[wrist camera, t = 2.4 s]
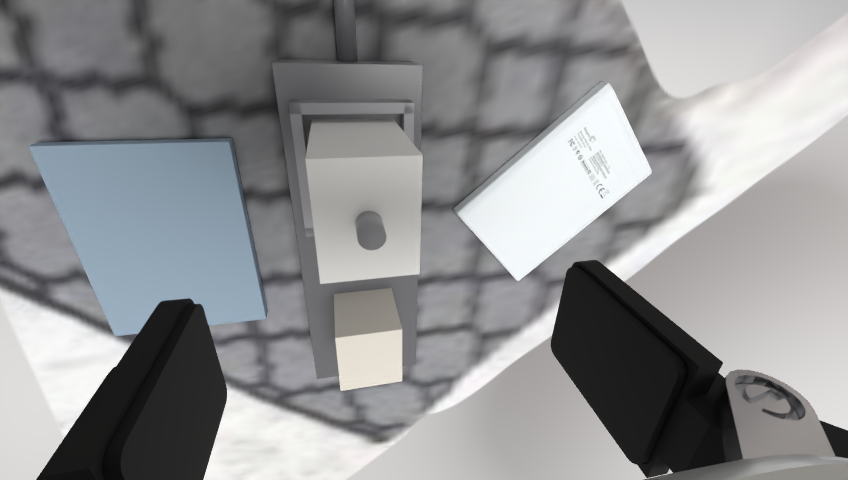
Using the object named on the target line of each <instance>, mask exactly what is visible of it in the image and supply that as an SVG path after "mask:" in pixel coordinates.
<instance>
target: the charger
mask: <svg viewBox="0 0 848 480" xmlns="http://www.w3.org/2000/svg"><path fill="white" fill-rule="evenodd" d="M305 160H306V169H307V177H308V186H309V194H310V202H311V211H312V219H313V227H314V236H315V244H316V253H317V261H318V269H319V278H320V284H326V283H336V282H346V281H356V280H366V279H376V278H386V277H396V276H406V275H416V274H420V238H421V201H422V164H423V155H422V154H421V153H420V151H419V150H418V149H417V148H416V146H415V145H414V144H413V143H412V141H411V140H410V139H409V138H408V136H407V135H406V134H405V133H404V131H403V130H402V129H401V128H400V127H399V125H398V124H397V123H396V122H395V120H394V119H393V118H381V119H312V122H311V128H310V134H309V140H308V146H307V152H306V158H305Z"/></svg>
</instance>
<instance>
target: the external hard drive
mask: <svg viewBox="0 0 848 480" xmlns="http://www.w3.org/2000/svg"><path fill="white" fill-rule="evenodd" d="M651 173H652V171H651V168H650V166H649V164H648V162H647V160H646V157H645V156H644V154H643V152H642V149H641V147H640V145H639V143H638V141H637V139H636V137H635V135H634V132H633V130H632V128H631V126H630V124H629V122H628V119H627V117H626V115H625V113H624V111H623V109H622V107H621V105H620V102H619V100H618V98H617V96H616V94H615V92H614V90H613V88H612V87H611V85H610V84H609V83H606V82H600V83H599V84H598V85H596V86H595V87H594V88H593V89H592V90H590V91H589V92H588V93H587V94H586V95H585V96H583V97H582V98H581V99H580V100H579V101H578V102H576V103H575V104H574V105H573V106H572V107H571V108H569V109H568V110H567V111H566V112H565V113H564V114H562V115H561V116H560V117H559V118H558V119H557V120H555V121H554V122H553V123H552V124H551V125H550V126H548V127H547V128H546V129H545V130H544V131H543V132H542V133H540V134H539V135H538V136H537V137H536V138H535V139H533V140H532V141H531V142H530V143H529V144H528V145H526V146H525V147H524V148H523V149H522V150H521V151H520V152H518V153H517V154H516V155H515V156H514V157H513V158H511V159H510V160H509V161H508V162H507V163H506V164H504V165H503V166H502V167H501V168H500V169H499V170H497V171H496V172H495V173H494V174H493V175H492V176H490V177H489V178H488V179H487V180H486V181H485V182H484V183H482V184H481V185H480V186H479V187H478V188H477V189H475V190H474V191H473V192H472V193H471V194H470V195H469V196H467V197H466V198H465V199H464V200H463V201H462V202H460V203H459V204H458V205H457V206H456V207H454V208H453V210H454V211H455V212H456V214H457V215H458V216H459V217H460V218H461V219H462V220H463V222H464V223H465V224H466V225H467V226H468V227H469V228H470V229H471V230H472V232H473V233H474V234H475V235H476V236H477V237H478V238H479V239H480V240H481V241H482V243H483V244H484V245H485V246H486V247H487V248H488V249H489V250H490V251H491V253H492V254H493V255H494V256H495V257H496V258H497V259H498V260H499V261H500V263H501V264H502V265H503V266H504V267H505V268H506V269H507V270H508V271H509V273H510V274H511V275H512V276H513V277H514V278H515V279H516V280H517V281H519V280H520V279H522V278H523V277H524V276H525V275H527V274H528V273H529V272H530V271H532V270H533V269H534V268H535V267H537V266H538V265H539V264H540V263H541V262H543V261H544V260H545V259H546V258H548V257H549V256H550V255H551V254H553V253H554V252H555V251H556V250H557V249H559V248H560V247H561V246H562V245H564V244H565V243H566V242H567V241H569V240H570V239H571V238H572V237H574V236H575V235H576V234H577V233H578V232H580V231H581V230H582V229H583V228H585V227H586V226H587V225H588V224H590V223H591V222H592V221H593V220H594V219H596V218H597V217H598V216H599V215H601V214H602V213H603V212H604V211H606V210H607V209H608V208H609V207H611V206H612V205H613V204H614V203H615V202H617V201H618V200H619V199H620V198H622V197H623V196H624V195H625V194H626V193H628V192H629V191H630V190H631V189H633V188H634V187H635V186H636V185H637V184H639V183H640V182H641V181H643V180H644V179H645V178H646V177H648V176H649V175H650V174H651Z"/></svg>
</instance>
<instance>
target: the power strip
mask: <svg viewBox="0 0 848 480" xmlns="http://www.w3.org/2000/svg"><path fill="white" fill-rule="evenodd" d="M334 12H335V26H336V40H337V55H338V60H300V59H278V60H276V61H274V62H272V70H273V76H274V83H275V90H276V97H277V104H278V111H279V118H280V125H281V132H282V139H283V146H284V153H285V160H286V167H287V174H288V181H289V187H290V194H291V201H292V208H293V215H294V222H295V229H296V236H297V243H298V250H299V257H300V264H301V271H302V278H303V285H304V292H305V299H306V305H307V312H308V319H309V326H310V333H311V340H312V347H313V354H314V361H315V368H316V375H317V379H320V378H326V377H333V376H339V379H340V389H341V391H343V390H349V389H356V388H362V387H368V386H375V385H381V384H387V383H394V382H400V381H402V366H406V365H413V364H416V325H417V284H418V274H416V275H406V276H396V277H386V278H376V279H366V280H356V281H346V282H336V283H326V284H320V278H319V269H318V261H317V253H316V244H315V236H314V227H313V219H312V211H311V202H310V194H309V186H308V177H307V169H306V160H305V158H306V152H307V146H308V140H309V134H310V128H311V122H312V119H381V118H393V119H394V120H395V122H396V123H397V124H398V125H399V127H400V128H401V129H402V130H403V131H404V133H405V134H406V135H407V136H408V138H409V139H410V140H411V141H412V143H413V144H414V145H415V146H416V148H417V149H418V150H419V151H420V153H421V119H422V78H423V65H420V64H417V63H414V62H407V61H357V46H356V25H355V5H354V0H334Z"/></svg>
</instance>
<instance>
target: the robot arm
mask: <svg viewBox="0 0 848 480" xmlns="http://www.w3.org/2000/svg"><path fill="white" fill-rule="evenodd" d="M551 349H552V352H553V354H554V356H555V357H556V359H557V360H558V361H559V363H560V364H561V365H562V367H563V368H564V370H565V371H566V373H567V374H568V375H569V377H570V378H571V380H572V381H573V382H574V384H575V385H576V387H577V388H578V389H579V391H580V392H581V394H582V395H583V396H584V398H585V399H586V400H587V402H588V403H589V405H590V406H591V407H592V409H593V410H594V412H595V413H596V415H597V416H598V417H599V419H600V420H601V422H602V423H603V424H604V426H605V427H606V429H607V430H608V431H609V433H610V434H611V436H612V437H613V438H614V440H615V441H616V443H617V444H618V445H619V447H620V448H621V450H622V451H623V452H624V454H625V455H626V457H627V458H628V459H629V460H630V461H631V462H632V463H634V464H637V465H638V466H639V468H640V469H641V470H642V472H643V473H644V474H645V476H646V477H647V478H649V477H654V476H658V475H662V474H666V473H667V472H668V470H669V468H670V469H671V471H672V472H673V473H672V474H668V475H663V476H658V477H654V478H649V479H645V480H848V431H847V430H845V429H842V428H839V427H836V426H833V425H831V424H828V423H825V422H823V421H820V420H819V419H818V417H817V415H816V413H815V411H814V409H813V408H812V406H811V405H810V403H809V402H808V401H807V400H806V399H805V398H804V397H803V396H802V395H801V394H800V393H798V392H797V391H796V390H794V389H793V388H791V387H790V386H788V385H787V384H785V383H783V382H781V381H779V380H777V379H775V378H773V377H770V376H768V375H765V374H763V373H759V372H755V371H750V370H735V371H731V372H730V373H729V374H728V375H727V376H726V377H725V378H724V377H723V376H722V375H720V374H719V373H718V372H719V369H720V368H721V366H722V364H723V362H722V361H720V360H719V359H718V358H717V357H715V356H714V355H713V354H712V353H711V352H709V351H708V350H707V349H706V348H704V347H703V346H702V345H701V344H700V343H698V342H697V341H696V340H695V339H693V338H692V337H691V336H689V335H688V334H687V333H686V332H685V331H684V330H682V329H681V328H680V327H679V326H677V325H676V324H675V323H674V322H673V321H671V320H670V319H669V318H668V317H666V316H665V315H664V314H663V313H661V312H660V311H659V310H658V309H656V308H655V307H654V306H653V305H652V304H650V303H649V302H648V301H647V300H645V299H644V298H643V297H642V296H641V295H639V294H638V293H637V292H636V291H634V290H633V289H632V288H631V287H630V286H628V285H627V284H626V283H625V282H623V281H622V280H621V279H620V278H619V277H617V276H616V275H615V274H614V273H612V272H611V271H610V270H609V269H607V268H606V267H605V266H604V265H603V264H601V263H600V262H599V261H597V260H590V261H580V262H575V263H574V264H573V265H572V267H571V268H569V269H568V270H567V273H566V277H565V282H564V286H563V291H562V295H561V299H560V304H559V308H558V313H557V317H556V322H555V326H554V330H553V335H552V339H551ZM226 400H227V388H226V384H225V380H224V377H223V373H222V370H221V367H220V363H219V360H218V356H217V353H216V349H215V346H214V343H213V339H212V336H211V332H210V329H209V326H208V322H207V319H206V315H205V312H204V309H203V306H202V305H201V304H194V302H193V300H192V299H190V298H187V299H176V300H166V301H161V302H160V303H159V304H158V305H157V307H156V308H155V310H154V311H153V313H152V314H151V316H150V317H149V318H148V320H147V321H146V323H145V324H144V326H143V327H142V329H141V330H140V332H139V333H138V335H137V336H136V338H135V339H134V341H133V342H132V344H131V345H130V347H129V348H128V350H127V351H126V353H125V354H124V356H123V357H122V359H121V360H120V362H119V363H118V365H117V366H116V367H114V368H113V369H112V370H111V371H110V372H109V374H108V375H107V376H106V378H105V379H104V381H103V382H102V384H101V385H100V387H99V388H98V390H97V391H96V393H95V394H94V395H93V397H92V398H91V400H90V401H89V403H88V404H87V406H86V407H85V409H84V410H83V412H82V413H81V415H80V416H79V418H78V419H77V420H76V422H75V423H74V425H73V426H72V428H71V429H70V431H69V432H68V434H67V435H66V437H65V438H64V440H63V441H62V443H61V444H60V445H59V447H58V449H57V450H56V451H55V453H54V454H53V456H52V457H51V459H50V460H49V462H48V463H47V465H46V466H45V468H44V469H43V471H42V472H41V473H40V475H39V476H38V478H37V479H36V480H203V478H204V475H205V472H206V468H207V465H208V462H209V458H210V455H211V451H212V448H213V445H214V441H215V438H216V435H217V431H218V428H219V424H220V421H221V418H222V414H223V411H224V408H225V404H226Z"/></svg>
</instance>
